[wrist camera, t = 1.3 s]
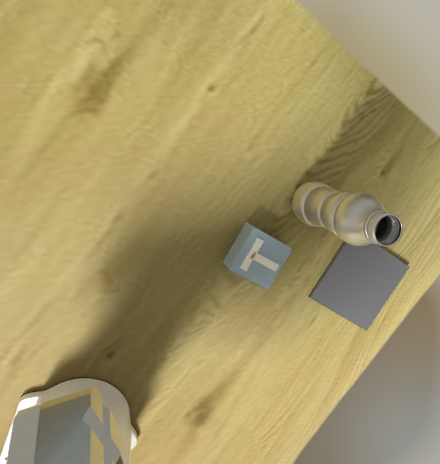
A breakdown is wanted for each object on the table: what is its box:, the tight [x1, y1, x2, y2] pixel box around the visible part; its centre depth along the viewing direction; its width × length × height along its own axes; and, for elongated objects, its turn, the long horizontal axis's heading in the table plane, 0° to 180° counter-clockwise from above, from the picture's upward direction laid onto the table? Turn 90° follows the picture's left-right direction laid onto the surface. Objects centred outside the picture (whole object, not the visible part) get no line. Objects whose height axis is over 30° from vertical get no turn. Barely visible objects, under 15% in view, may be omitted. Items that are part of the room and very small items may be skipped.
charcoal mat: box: [309, 242, 409, 331], centre depth 70 cm, size 13×13×1 cm
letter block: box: [223, 222, 293, 290], centre depth 62 cm, size 7×7×4 cm
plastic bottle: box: [292, 181, 403, 247], centre depth 55 cm, size 6×7×20 cm
